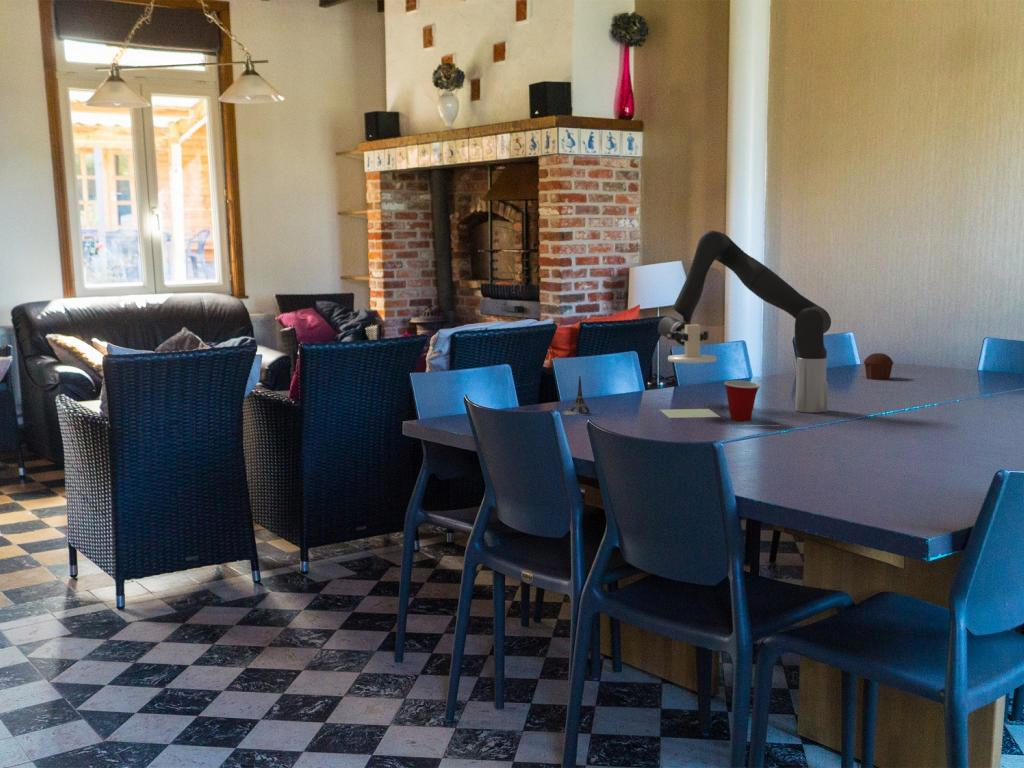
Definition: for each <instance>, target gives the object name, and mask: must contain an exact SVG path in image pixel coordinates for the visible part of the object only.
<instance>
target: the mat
mask: <svg viewBox="0 0 1024 768" xmlns="http://www.w3.org/2000/svg"><path fill="white" fill-rule="evenodd" d="M659 411H660V412H662V413H663V414H664V415H665V416H666V417H667V418H669V419H673V418H674V419H679V418H680V419H682V418H685V419H686V418H721V416H720V415H719V414H717V413H715V412H714V411H712V410H711V409H709V408H689V409H688V408H687V409H686V408H685V409H684V408H683V409H682V408H681V409H679V408H678V409H659Z"/></svg>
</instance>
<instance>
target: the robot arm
mask: <svg viewBox="0 0 1024 768" xmlns="http://www.w3.org/2000/svg"><path fill="white" fill-rule="evenodd" d="M714 261H717V263H721V264H722V265H724V266H725V267H726V268H728V269H729V270H731V272H733V273H734V274H735V275H736V276H737V278H738V279H739V280H740V281H741V283H742V284H743V285H744V286H745V288H747V289H748V290H749V291H750V292H752V293H753V294H754V295H756V296H757V297H758V298H759V299H761V300H762V301H764V302H766V303H768V304H769V305H772V306H774V307H776V308H778V309H780V310H782V311H784V312H785V313H787V314H789V315H790V316H791V317H793V318H794V319H795V320H794V348H795V349H794V350H795V351H796V370H795V371H796V372H795V373H796V374H795V375H796V376H795V404H794V405H795V407H794V408H795V409H794V410H795V411H796V412H799V413H800V412H801V413H823V412H825V413H827V412H828V404H829V403H828V399H829V392H828V391H829V382H828V381H827V355H828V354H827V353H828V352H827V351H828V349H827V348H826V346H825V344H824V343H825V342H824V334H825V333H827V332H828V331H829V330H830V328H831V324H832V319H831V316H830V314H829V312H828V311H827V310H826V309H825V308H823V307H822V306H819V305H818V304H817V303H815V302H813V301H812V300H810V299H808V298H806V297H805V296H804V295H802V294H801V293H799V292H798V291H797V290H796V289H795V288H793V286H792V285H791V284H789V283H788V282H786V280H784V279H783V278H782V277H780V276H779V275H778V274H777V273H776V272H774V271H773V270H771V269H770V268H769V267H768V266H766V265H764V264H763V263H761V262H760V261H759V260H757V259H756V258H754V257H752V256H751V255H749V254H747V253H746V252H745V251H744V250H742V249H741V247H739V246H738V245H737V243H735V241H733V240H732V239H731V238H730V237H729V236H728V235H727V234H726V233H723V232H721V231H717V230H709V231H706V232H703V234H702V235H701V236H700V238H699V240H698V243H697V246H696V249H695V252H694V257H693V260H692V262H691V265H690V269H689V271H688V274H687V277H686V278H685V281H684V283H683V285H682V287H681V290H680V292H679V293H678V296H677V298H676V300H675V302H674V305H673V310H674V311H675V312H676V313H678V314H679V315H681V317H682V320H679V319H677V318H674V317H673V316H670V315H669V316H668V315H667V316H663V318H661V319H660V321H659V323H658V325H657V326H658V327H657V330H658V334H660V336H662V337H665V338H667V340H669V341H670V340H671V341H674V342H675V343H676V344H679V345H681V346H684V347H685V341H688V334H686V333H685V325H691V324H692V323H691V322H692V318H693V315H694V312H695V310H696V308H697V306H698V304H699V302H700V300H701V297H702V295H703V290H704V286H705V282H706V277H707V274H708V272H709V270H710V269H711V266H712V265H713V263H714ZM709 335H710V331H709V330H704V331H703V332H702V331H700V342H703V341H707V340H709V338H710V336H709Z"/></svg>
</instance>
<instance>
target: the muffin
mask: <svg viewBox="0 0 1024 768" xmlns="http://www.w3.org/2000/svg"><path fill="white" fill-rule="evenodd" d="M863 364H864V370H865V378H866V379H867V380H872V381H873V380H874V381H875V380H877V381H885V380H886V381H887V380H890V379H891V374H892V373H891V372H892V369H893V365H894V361H893V360H892V358H891V357H890V356H889V355H887V354H886V353H882V352H875V353H871V354H870V355H868V356H867V357H866V358H865V359H864V360H863Z"/></svg>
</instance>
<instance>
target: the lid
mask: <svg viewBox="0 0 1024 768" xmlns="http://www.w3.org/2000/svg"><path fill="white" fill-rule="evenodd" d="M700 332H701V325H700V324H699V323H698V324H692V323H691V325H685V333H686V334H688V341H685V346H684V354H673V355H671V354H670V355H668V356H667V361H668V362H671V363H679V364H707V363H708V364H709V363H716V362H717V360H718V359H717V356H715V355H713V354H711V355H710V354H701V341H700Z"/></svg>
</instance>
